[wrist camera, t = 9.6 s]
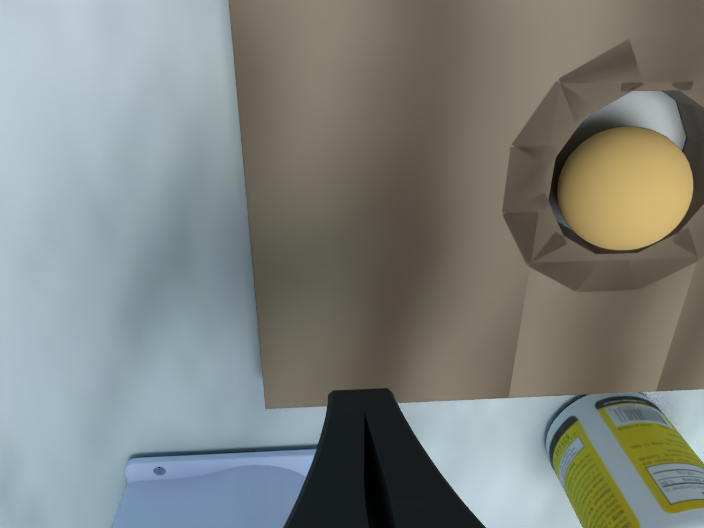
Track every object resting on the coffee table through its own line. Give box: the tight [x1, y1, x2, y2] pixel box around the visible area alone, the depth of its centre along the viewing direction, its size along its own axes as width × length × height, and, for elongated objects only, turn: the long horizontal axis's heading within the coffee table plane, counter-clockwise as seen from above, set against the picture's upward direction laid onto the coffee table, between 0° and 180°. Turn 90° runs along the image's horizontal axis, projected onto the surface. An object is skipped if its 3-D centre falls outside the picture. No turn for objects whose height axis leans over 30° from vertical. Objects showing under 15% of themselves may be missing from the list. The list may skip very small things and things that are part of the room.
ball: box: [557, 126, 693, 250], centre depth 19 cm, size 4×4×4 cm
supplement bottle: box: [546, 392, 704, 528], centre depth 22 cm, size 5×5×10 cm
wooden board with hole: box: [229, 0, 704, 409], centre depth 19 cm, size 18×18×2 cm
